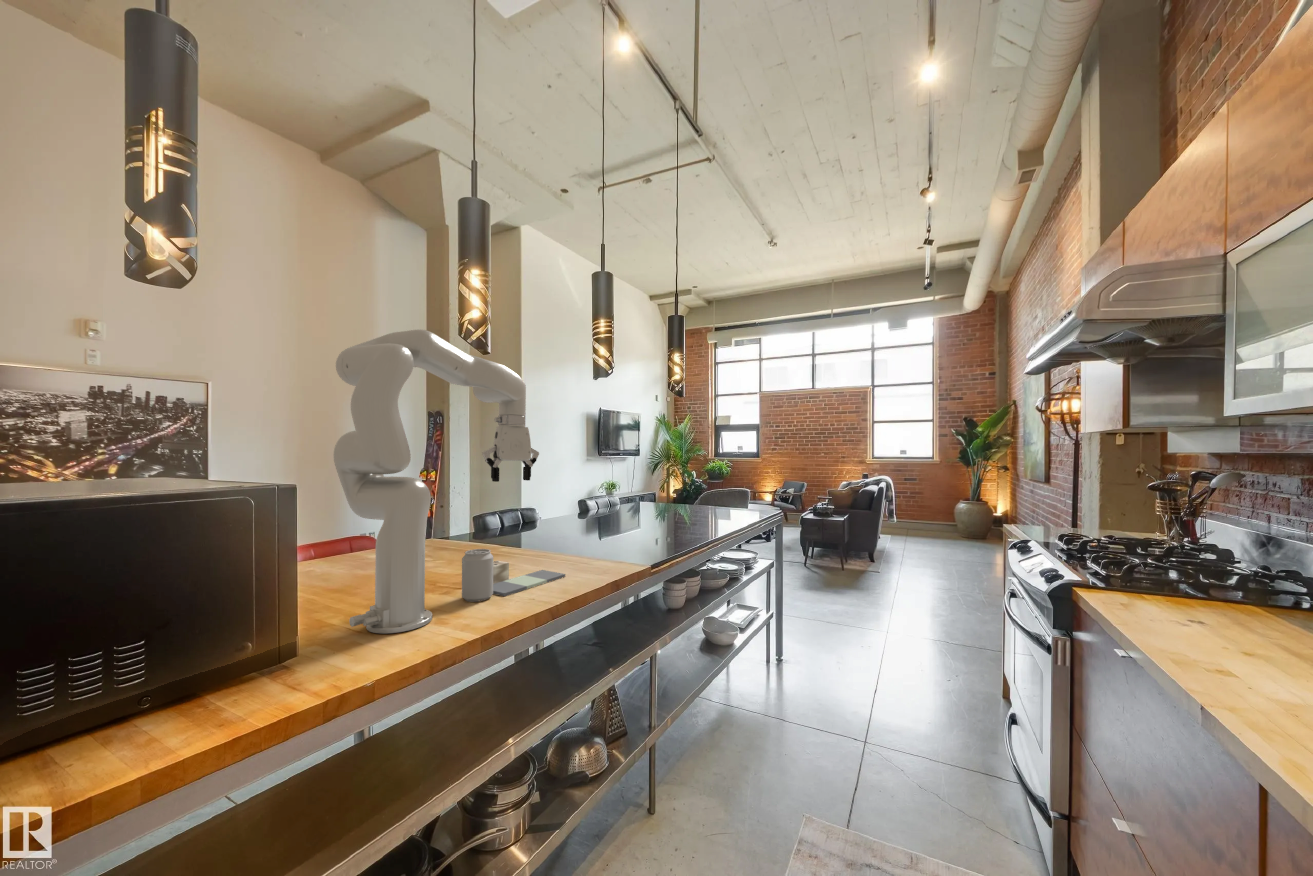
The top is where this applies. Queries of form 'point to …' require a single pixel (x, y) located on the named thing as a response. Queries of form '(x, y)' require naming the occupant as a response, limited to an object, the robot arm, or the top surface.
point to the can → (477, 575)
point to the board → (524, 582)
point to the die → (500, 571)
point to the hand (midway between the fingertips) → (511, 480)
